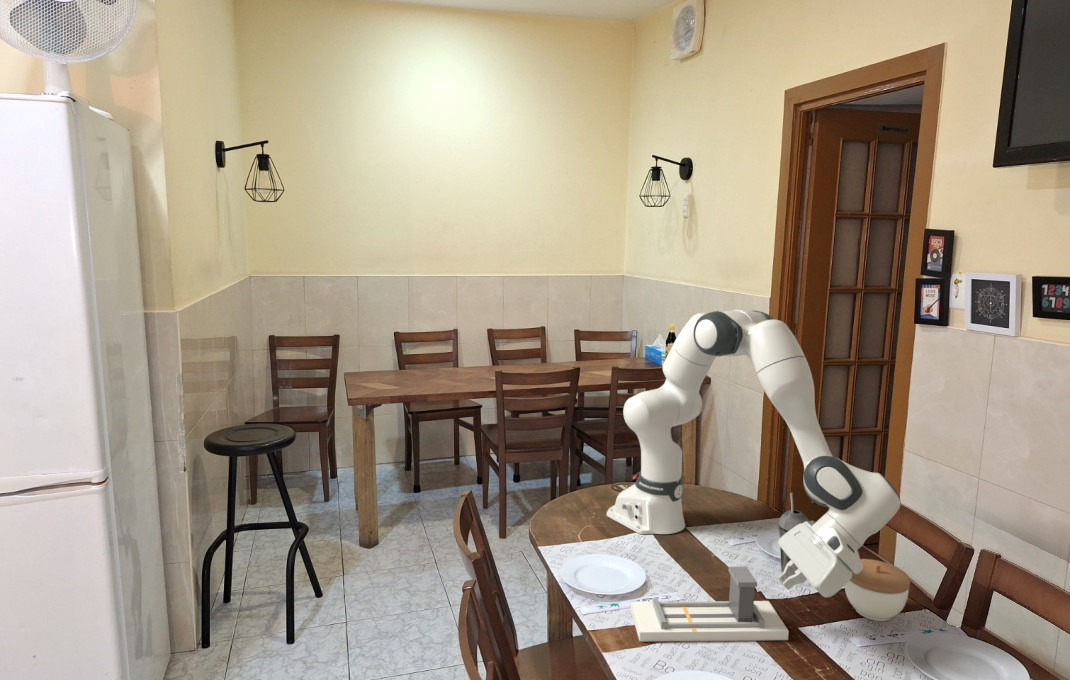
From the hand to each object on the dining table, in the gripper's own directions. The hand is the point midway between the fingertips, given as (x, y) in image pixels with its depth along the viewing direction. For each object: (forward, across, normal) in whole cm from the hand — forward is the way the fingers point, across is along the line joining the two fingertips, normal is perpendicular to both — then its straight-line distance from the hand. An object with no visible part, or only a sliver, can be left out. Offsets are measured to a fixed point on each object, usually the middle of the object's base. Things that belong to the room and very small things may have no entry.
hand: (782, 584), depth 138 cm
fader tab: (+11, 0, -1) cm, 11 cm away
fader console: (+17, 0, -5) cm, 18 cm away
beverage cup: (-1, -22, +14) cm, 26 cm away
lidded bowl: (-9, -4, +22) cm, 24 cm away
